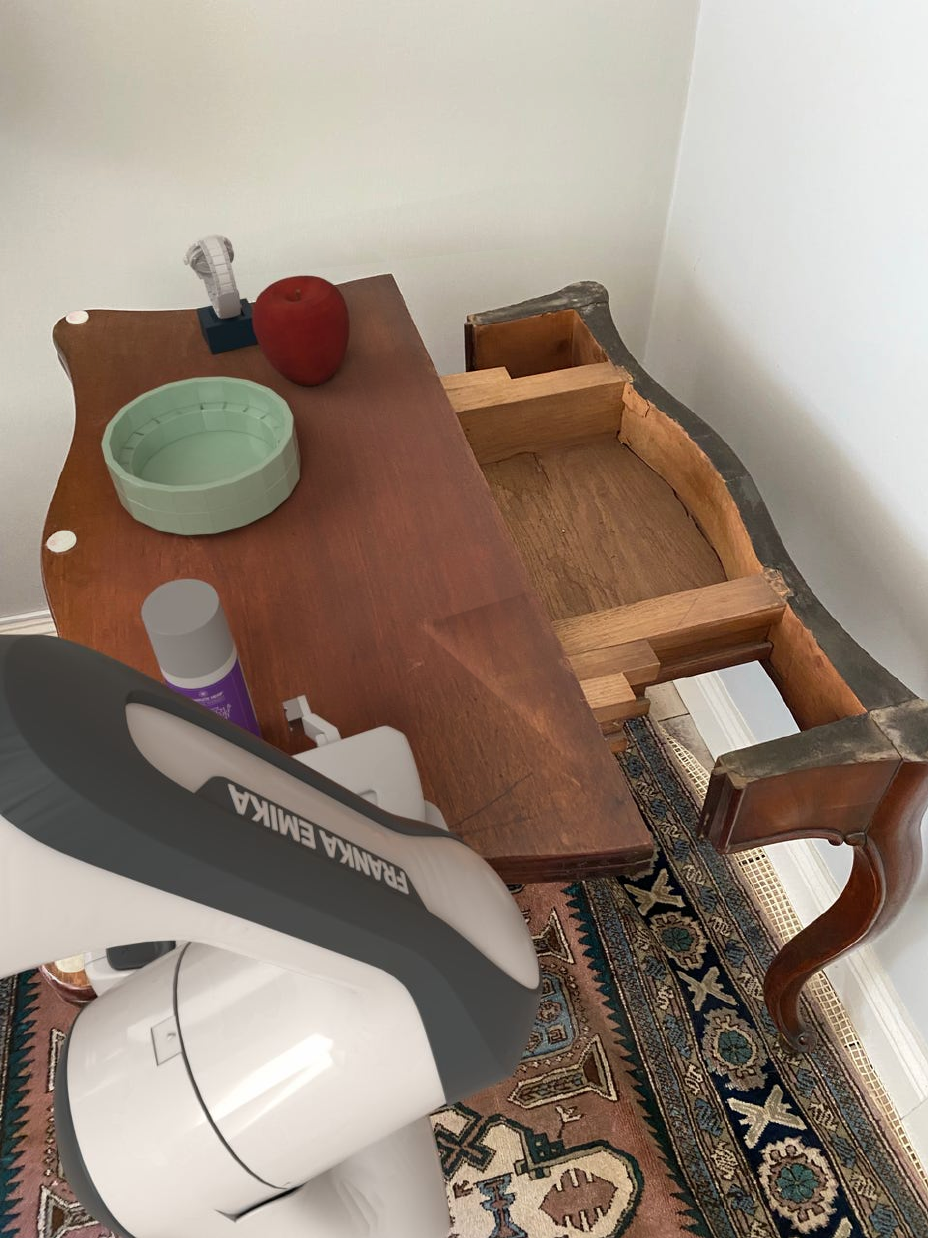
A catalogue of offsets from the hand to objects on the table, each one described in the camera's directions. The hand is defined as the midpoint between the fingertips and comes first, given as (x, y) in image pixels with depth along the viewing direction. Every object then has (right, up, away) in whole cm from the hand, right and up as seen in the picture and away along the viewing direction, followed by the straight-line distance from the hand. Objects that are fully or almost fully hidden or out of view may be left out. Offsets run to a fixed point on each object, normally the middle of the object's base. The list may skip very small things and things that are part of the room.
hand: (218, 727), depth 55 cm
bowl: (-8, +20, +29) cm, 36 cm away
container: (-2, -3, +9) cm, 10 cm away
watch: (-11, +37, +45) cm, 59 cm away
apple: (-1, +32, +40) cm, 51 cm away
